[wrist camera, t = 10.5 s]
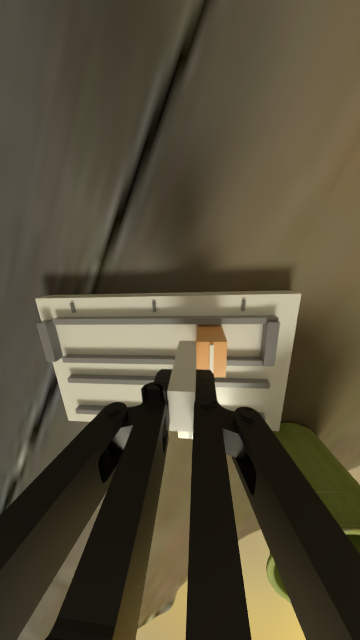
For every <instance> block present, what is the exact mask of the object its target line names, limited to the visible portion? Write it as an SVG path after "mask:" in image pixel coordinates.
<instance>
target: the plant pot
mask: <svg viewBox="0 0 360 640" xmlns="http://www.w3.org/2000/svg"><path fill="white" fill-rule="evenodd" d="M273 433H274V434H275V435H276V437H277V438H278V440H279V441H280V442H281V444H282V445H283V447H284V448H285V450H286V451H287V452H288V454H289V455H290V457H291V458H292V459H293V461H294V462H295V464H296V465H297V466H298V468H299V469H300V471H301V472H302V473H303V475H304V476H305V478H306V479H307V480H308V482H309V483H310V485H311V486H312V487H313V489H314V490H315V492H316V493H317V495H318V496H319V497H320V499H321V500H322V502H323V503H324V504H325V506H326V507H327V509H328V510H329V511H330V513H331V514H332V516H333V517H334V518H335V520H336V521H337V523H338V524H339V525H340V527H341V528H342V530H343V531H344V532H345V534H346V535H347V537H348V538H349V540H350V541H351V542H352V544H353V545H354V547H355V548H356V549H357V551H358V552H359V554H360V485H359V484H358V482H357V481H356V480H355V479H354V478H353V477H352V476H351V475H350V473H349V472H348V471H347V470H346V469H345V468H344V467H343V465H342V464H341V463H340V462H339V461H338V460H337V459H336V458H335V456H334V455H333V454H332V453H331V452H330V451H329V450H328V448H327V447H326V446H325V445H324V444H323V443H322V442H321V440H320V439H319V438H318V437H317V436H316V435H315V434H314V433H313V432H312V431H311V430H310V429H309V428H307V427H304V426H301V425H299V424H296V423H280V428H279V431H273ZM266 568H267V569H266V570H267V576H268V580H269V582H270V584H271V586H272V587H273V588H274V590H275V591H276V592H277V593H278V594H279V595H280V596H282V597H283V598H285V599H286V600H287V601H289V602H290V603H291V601H290V599H289V596H288V594H287V591H286V589H285V586H284V584H283V582H282V579H281V577H280V574H279V572H278V569H277V567H276V564H275V562H274V560H273V557H272V555H271V552H270V556H269V558H268V561H267V567H266Z"/></svg>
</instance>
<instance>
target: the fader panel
mask: <svg viewBox="0 0 360 640" xmlns="http://www.w3.org/2000/svg"><path fill="white" fill-rule="evenodd" d="M300 299H301V293H298V292H295V291H292V290H277V291H227V292H178V293H128V294H79V295H48V296H44V297H40V298H36V299H35V300H36V303H37V307H38V311H39V314H40V318H41V322H38V323H36V325H37V328H38V332H39V335H40V339H41V342H42V346H43V349H44V353H45V356H46V360H47V362H53V365H54V369H55V373H56V376H57V380H58V384H59V387H60V391H61V395H62V398H63V402H64V406H65V409H66V413H67V416H68V420H69V421H87V422H91V421H92V420H93V419H94V418H95V417H96V416H97V414H98V413H99V412H100V411H101V410H102V409H103V408H104V407H106V406H107V405H109V404H111V403H113V402H123V403H125V404H126V406H127V408H129V407H133V406H137V405H140V404H142V394H141V388H142V387H143V386H144V385H146V384H148V383H151V382H154V380H155V377H156V374H157V372H159V371H160V370H161V369H173V365H174V360H175V356H176V352H177V348H178V344H179V341H196V332H197V325H222V328H223V331H224V334H225V337H226V339H227V361H226V377H214V380H215V388H216V396H217V401H218V403H219V404H220V405H221V406H222V407H224V408H226V409H228V410H231V411H235V410H236V409H237V408H239V407H250V408H253V409H255V410H256V411H258V412H259V413H260V414H261V416H262V417H263V419H264V420H265V421H266V423H267V424H268V426H269V427H270V428H271V430H272V431H279V428H280V422H281V416H282V410H283V404H284V397H285V391H286V385H287V379H288V373H289V367H290V360H291V354H292V348H293V342H294V336H295V330H296V323H297V317H298V311H299V305H300ZM178 438H189V439H193V432H183V431H178Z"/></svg>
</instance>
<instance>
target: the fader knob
mask: <svg viewBox="0 0 360 640" xmlns="http://www.w3.org/2000/svg"><path fill="white" fill-rule="evenodd" d="M226 361H227V339H226V337H225V334H224V331H223V328H222V325H197V332H196V365H197V369H203V370H211V371H212V373H213V374H214V377H226Z"/></svg>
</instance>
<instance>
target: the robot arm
mask: <svg viewBox="0 0 360 640" xmlns="http://www.w3.org/2000/svg"><path fill="white" fill-rule="evenodd" d="M141 394H142V404H140V405H137V406H133V407H129V408H127V406H126V404H125V403H123V402H113V403H111V404H109V405H107V406H106V407H104V408H103V409H102V410H101V411H100V412H99V413H98V414H97V416H96V417H95V418H94V419H93V420H92V421H91V422H90V423H89V424H88V425H87V426H86V427H85V428H84V429H83V430H82V431H81V432H80V433H79V434H78V435H77V436H76V437H75V438H74V439H73V440H72V441H71V442H70V444H69V445H68V446H67V447H66V448H65V449H64V450H63V451H62V452H61V453H60V454H59V455H58V456H57V457H56V458H55V459H54V460H53V461H52V462H51V463H50V464H49V465H48V466H47V467H46V468H45V469H44V471H43V472H42V473H41V474H40V475H39V476H38V477H37V478H36V479H35V480H34V481H33V482H32V483H31V484H30V485H29V486H28V487H27V488H26V489H25V490H24V491H23V492H22V493H21V494H20V495H19V496H18V497H17V499H16V500H15V501H14V502H13V503H12V504H11V505H10V506H9V507H8V508H7V509H6V510H5V511H4V512H3V513H2V514H1V515H0V640H17V638H18V637H19V635H20V633H21V632H22V630H23V628H24V627H25V625H26V623H27V622H28V620H29V618H30V617H31V615H32V613H33V612H34V610H35V609H36V607H37V605H38V604H39V602H40V600H41V599H42V597H43V595H44V594H45V592H46V590H47V589H48V587H49V585H50V584H51V582H52V581H53V579H54V577H55V576H56V574H57V572H58V571H59V569H60V567H61V566H62V564H63V562H64V561H65V559H66V557H67V556H68V554H69V553H70V551H71V549H72V548H73V546H74V544H75V543H76V541H77V539H78V538H79V536H80V534H81V533H82V531H83V529H84V528H85V526H86V525H87V523H88V521H89V520H90V518H91V516H92V515H93V513H94V511H95V510H96V508H97V506H98V505H99V503H100V501H101V500H102V498H103V497H104V495H105V493H106V492H107V493H106V495H105V498H104V500H103V503H102V505H101V508H100V511H99V513H98V516H97V518H96V521H95V523H94V526H93V528H92V531H91V533H90V536H89V538H88V541H87V544H86V546H85V549H84V551H83V554H82V556H81V559H80V561H79V564H78V566H77V569H76V571H75V574H74V577H73V579H72V582H71V584H70V587H69V589H68V592H67V594H66V597H65V599H64V602H63V604H62V607H61V610H60V612H59V615H58V617H57V619H56V622H55V624H54V626H53V628H52V630H51V632H50V634H49V635H48V637H47V638H46V639H45V640H135V639H136V632H137V626H138V620H139V614H140V608H141V602H142V596H143V590H144V584H145V578H146V572H147V566H148V560H149V554H150V548H151V542H152V536H153V530H154V524H155V518H156V512H157V506H158V500H159V494H160V488H161V482H162V476H163V470H164V464H165V457H166V451H167V445H168V430H169V428H170V431H183V432H193V449H192V477H191V505H190V534H189V562H188V592H187V619H186V620H187V621H186V640H251V633H250V627H249V619H248V611H247V605H246V597H245V590H244V582H243V576H242V568H241V561H240V553H239V546H238V539H237V531H236V524H235V517H234V510H233V502H232V495H231V488H230V480H229V473H228V466H227V459H226V454H228V455H231V456H232V459H233V462H234V464H235V467H236V469H237V471H238V474H239V476H240V479H241V481H242V484H243V486H244V489H245V491H246V493H247V496H248V498H249V501H250V503H251V506H252V508H253V511H254V513H255V515H256V518H257V520H258V523H259V525H260V528H261V530H262V532H263V535H264V537H265V540H266V542H267V545H268V547H269V550H270V552H271V555H272V557H273V560H274V562H275V564H276V567H277V569H278V572H279V574H280V577H281V579H282V582H283V584H284V586H285V589H286V591H287V594H288V596H289V599H290V601H291V603H292V606H293V608H294V611H295V613H296V616H297V618H298V621H299V623H300V626H301V628H302V631H303V633H304V635H305V638H306V640H360V554H359V552H358V551H357V549H356V548H355V547H354V545H353V544H352V542H351V541H350V540H349V538H348V537H347V535H346V534H345V532H344V531H343V530H342V528H341V527H340V525H339V524H338V523H337V521H336V520H335V518H334V517H333V516H332V514H331V513H330V511H329V510H328V509H327V507H326V506H325V504H324V503H323V502H322V500H321V499H320V497H319V496H318V495H317V493H316V492H315V490H314V489H313V487H312V486H311V485H310V483H309V482H308V480H307V479H306V478H305V476H304V475H303V473H302V472H301V471H300V469H299V468H298V466H297V465H296V464H295V462H294V461H293V459H292V458H291V457H290V455H289V454H288V452H287V451H286V450H285V448H284V447H283V445H282V444H281V442H280V441H279V440H278V438H277V437H276V435H275V434H274V433H273V431H272V430H271V428H270V427H269V426H268V424H267V423H266V421H265V420H264V419H263V417H262V416H261V414H260V413H259V412H258V411H256V410H255V409H253V408H250V407H239V408H237V409H236V410H235V411H231V410H228V409H226V408H224V407H222V406H221V405H220V404H219V403H218V401H217V396H216V388H215V380H214V374H213V373H212V371H211V370H203V369H197V365H196V341H179V344H178V348H177V352H176V356H175V360H174V365H173V369H161V370H160V371H159V372H157V374H156V377H155V380H154V382H151V383H148V384H146V385H144V386H143V387H142V388H141Z"/></svg>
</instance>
